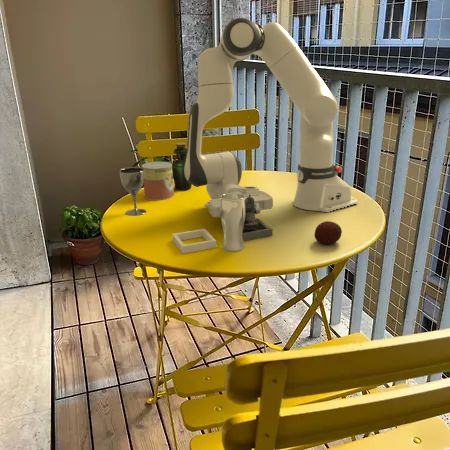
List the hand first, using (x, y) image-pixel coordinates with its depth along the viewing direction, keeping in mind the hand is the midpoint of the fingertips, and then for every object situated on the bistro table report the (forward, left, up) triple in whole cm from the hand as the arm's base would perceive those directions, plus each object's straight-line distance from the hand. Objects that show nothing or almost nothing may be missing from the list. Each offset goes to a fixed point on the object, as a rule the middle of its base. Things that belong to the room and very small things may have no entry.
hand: (251, 212), depth 134 cm
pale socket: (+18, 0, -7) cm, 19 cm away
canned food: (+16, -49, -7) cm, 52 cm away
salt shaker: (0, -1, -7) cm, 7 cm away
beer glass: (+9, +7, -7) cm, 13 cm away
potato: (-17, +15, -7) cm, 24 cm away
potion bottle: (+5, -54, -7) cm, 55 cm away
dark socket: (0, -1, -7) cm, 7 cm away
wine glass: (+28, -34, -7) cm, 44 cm away
